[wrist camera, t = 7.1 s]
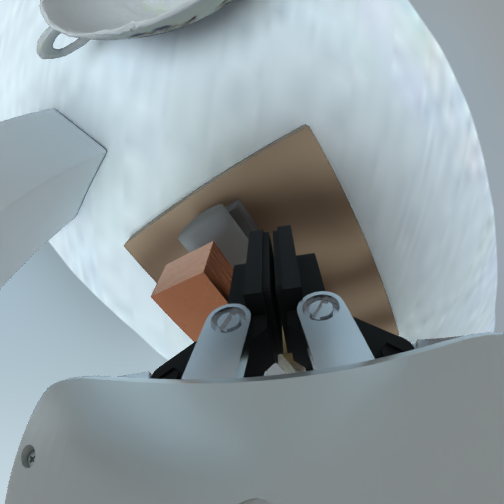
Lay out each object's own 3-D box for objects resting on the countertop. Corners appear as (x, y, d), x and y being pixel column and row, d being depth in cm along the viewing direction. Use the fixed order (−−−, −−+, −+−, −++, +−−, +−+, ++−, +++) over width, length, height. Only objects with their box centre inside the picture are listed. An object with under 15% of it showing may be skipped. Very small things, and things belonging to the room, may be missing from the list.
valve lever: (316, 377, 16) (319, 406, 14) (277, 388, 17) (278, 416, 15) (215, 239, 11) (205, 270, 9) (164, 265, 12) (148, 297, 10)
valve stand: (394, 324, 26) (420, 389, 18) (266, 375, 30) (265, 438, 23) (305, 124, 16) (339, 144, 9) (130, 236, 21) (80, 304, 14)
